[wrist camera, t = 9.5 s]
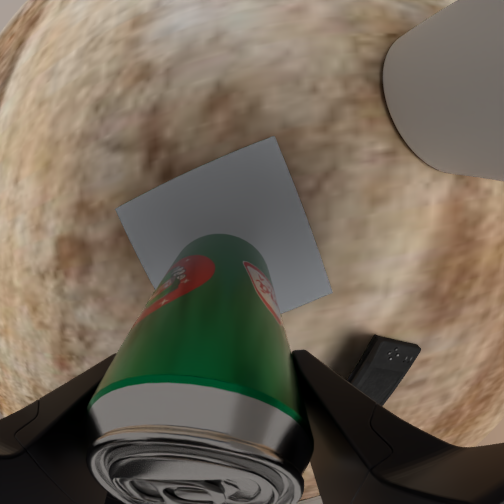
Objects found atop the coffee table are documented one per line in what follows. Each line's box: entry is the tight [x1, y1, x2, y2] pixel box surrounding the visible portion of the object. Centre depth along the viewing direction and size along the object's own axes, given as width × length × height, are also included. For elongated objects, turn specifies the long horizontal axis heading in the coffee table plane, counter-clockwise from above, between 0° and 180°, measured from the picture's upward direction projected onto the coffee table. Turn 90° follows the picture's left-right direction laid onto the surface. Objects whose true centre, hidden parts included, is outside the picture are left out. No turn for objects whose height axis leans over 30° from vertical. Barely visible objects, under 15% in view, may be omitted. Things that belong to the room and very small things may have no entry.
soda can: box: [85, 234, 314, 504], centre depth 10 cm, size 5×5×12 cm
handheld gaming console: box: [347, 335, 421, 406], centre depth 23 cm, size 12×7×10 cm
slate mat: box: [115, 136, 333, 314], centre depth 20 cm, size 12×12×1 cm
